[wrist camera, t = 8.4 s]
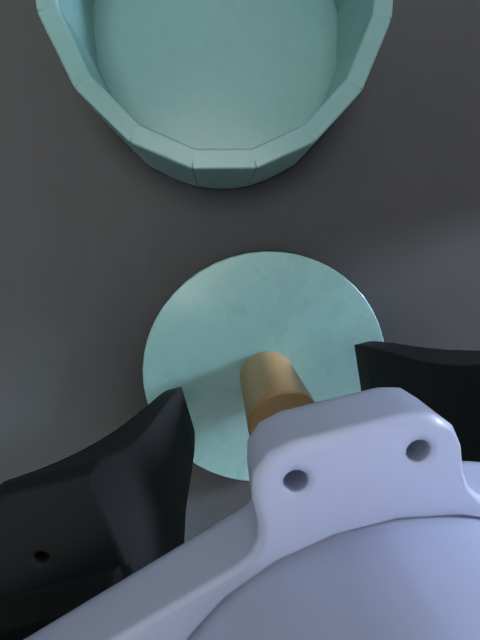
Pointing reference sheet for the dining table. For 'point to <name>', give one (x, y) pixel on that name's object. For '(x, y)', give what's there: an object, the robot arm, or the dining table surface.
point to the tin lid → (255, 347)
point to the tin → (217, 76)
